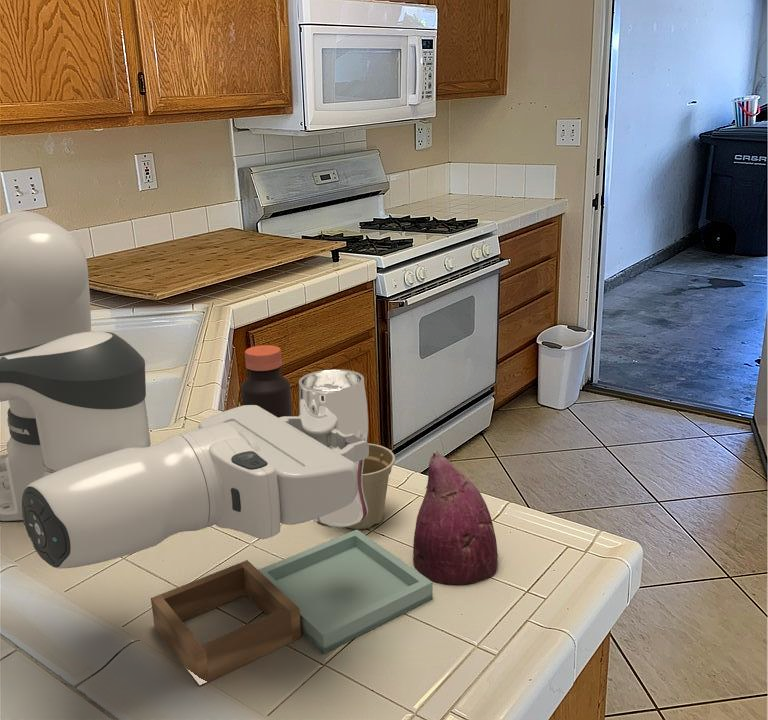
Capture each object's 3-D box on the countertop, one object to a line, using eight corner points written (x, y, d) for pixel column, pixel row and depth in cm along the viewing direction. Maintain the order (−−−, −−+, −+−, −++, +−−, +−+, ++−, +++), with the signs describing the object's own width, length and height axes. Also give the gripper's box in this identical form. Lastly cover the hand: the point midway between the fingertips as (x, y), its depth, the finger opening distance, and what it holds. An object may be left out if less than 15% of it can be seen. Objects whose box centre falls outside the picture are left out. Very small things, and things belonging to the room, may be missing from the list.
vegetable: (400, 588, 89) (363, 474, 86) (451, 541, 96) (417, 434, 93) (471, 603, 82) (433, 480, 79) (520, 551, 89) (487, 436, 86)
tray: (255, 587, 85) (254, 571, 84) (357, 544, 93) (356, 529, 92) (324, 653, 74) (323, 635, 73) (432, 598, 82) (432, 582, 81)
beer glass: (338, 491, 85) (330, 364, 80) (385, 510, 80) (380, 376, 76) (292, 516, 80) (281, 382, 75) (340, 537, 75) (332, 396, 71)
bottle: (263, 499, 104) (253, 361, 98) (239, 482, 109) (228, 349, 103) (305, 484, 108) (297, 350, 102) (280, 468, 113) (271, 340, 107)
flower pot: (406, 528, 96) (406, 467, 93) (335, 543, 93) (332, 480, 90) (382, 495, 104) (380, 438, 102) (315, 508, 101) (312, 449, 99)
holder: (154, 626, 78) (150, 598, 77) (249, 587, 85) (247, 559, 84) (199, 686, 70) (195, 655, 69) (301, 637, 76) (299, 608, 75)
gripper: (176, 465, 79) (291, 431, 87) (274, 548, 63) (403, 498, 71) (170, 408, 77) (288, 379, 85) (269, 480, 61) (402, 436, 69)
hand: (341, 434), depth 78 cm, fingers closed on beer glass, 7 cm apart
